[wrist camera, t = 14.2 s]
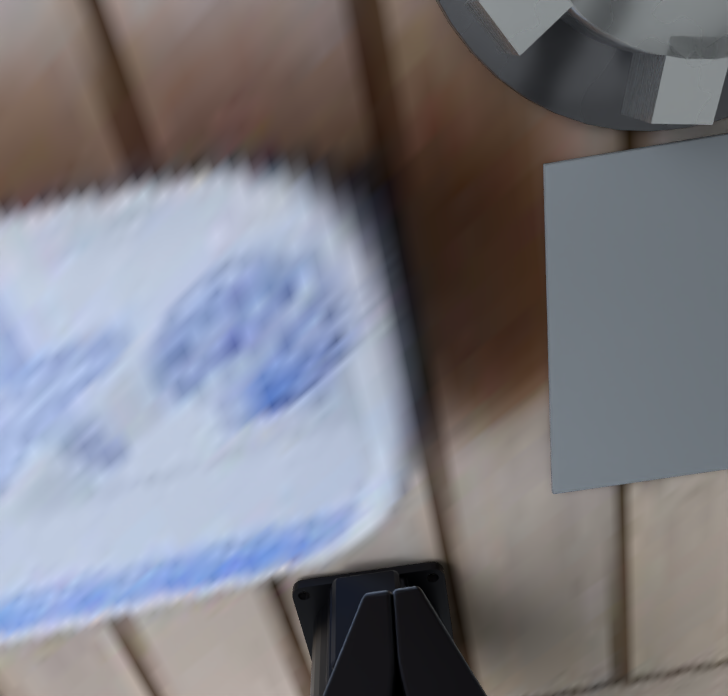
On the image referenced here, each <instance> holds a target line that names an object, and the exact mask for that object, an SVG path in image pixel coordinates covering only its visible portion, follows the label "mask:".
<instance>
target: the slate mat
mask: <svg viewBox="0 0 728 696" xmlns="http://www.w3.org/2000/svg"><path fill="white" fill-rule="evenodd" d="M543 172H544V211H545V249H546V288H547V326H548V365H549V403H550V442H551V481H552V492H553V494H558V493H565V492H572V491H579V490H586V489H593V488H600V487H607V486H613V485H620V484H627V483H634V482H641V481H648V480H655V479H662V478H669V477H676V476H683V475H690V474H697V473H704V472H711V471H718V470H724V469H728V133H725V134H719V135H713V136H707V137H701V138H695V139H689V140H683V141H677V142H671V143H665V144H659V145H653V146H647V147H641V148H635V149H629V150H623V151H618V152H612V153H606V154H600V155H594V156H588V157H582V158H576V159H570V160H564V161H558V162H552V163H546V164H543Z"/></svg>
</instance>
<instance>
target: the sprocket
mask: <svg viewBox="0 0 728 696" xmlns="http://www.w3.org/2000/svg"><path fill="white" fill-rule="evenodd" d="M464 5H465V6H466V7H467V9H468V10H469V11H470V13H471V14H472V15H473V17H474V18H475V19H476V20H477V22H478V23H479V24H480V26H481V27H482V28H483V30H484V31H485V32H486V34H487V35H488V36H489V37H490V39H491V40H492V41H493V43H494V44H495V45H496V47H497V48H498V49H499V50H500V52H501V53H506V54H512V55H518V56H520V55H521V54H522V53H523V52H525V51H526V50H527V49H528V48H529V47H530V46H531V45H532V44H533V43H534V42H535V41H536V40H537V39H538V38H539V37H540V36H541V35H542V34H543V33H544V32H545V31H546V30H548V29H549V28H550V27H551V26H552V25H553V24H554V23H555V22H556V21H557V20H558V19H559V18H561V19H562V20H563V21H565V22H566V23H567V24H569V25H570V26H571V27H573V28H574V29H575V30H577V31H578V32H580V33H582V34H584V35H586V36H588V37H590V38H592V39H593V40H595V41H597V42H599V43H601V44H604V45H607V46H610V47H613V48H616V49H619V50H623V51H626V52H632V56H631V61H630V66H629V71H628V76H627V82H626V87H625V92H624V97H623V102H622V107H621V112H620V114H623V115H626V116H629V117H632V118H635V119H638V120H642V121H645V122H648V123H651V124H698V125H713V121H714V118H715V114H716V110H717V106H718V102H719V99H720V95H721V91H722V87H723V84H724V80H725V76H726V72H727V68H728V0H467V1H466V2H465V3H464Z"/></svg>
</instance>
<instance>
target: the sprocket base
mask: <svg viewBox="0 0 728 696" xmlns="http://www.w3.org/2000/svg"><path fill="white" fill-rule="evenodd" d="M466 1H467V0H436V2H437V3H438V5H439V7H440V9H441V10H442V12H443V14H444V16H445V17H446V19H447V21H448V23H449V24H450V26H451V27H452V28H453V30H454V31H455V32H456V34H457V35H458V36H459V38H460V39H461V40H462V41H463V43H464V44H465V45H466V47H467V48H468V49H469V51H470V52H471V53H472V54H473V55H474V56H475V57H476V58H477V59H478V60H479V61H480V62H481V63H482V64H483V65H484V66H485V67H486V68H487V69H488V70H489V71H490V72H491V73H492V74H493V75H494V76H495V77H496V78H498V79H499V80H501V81H502V82H503V83H505V84H506V85H507V86H509V87H510V88H511V89H513V90H514V91H516V92H517V93H518V94H520V95H521V96H523V97H524V98H526V99H528V100H530V101H532V102H534V103H536V104H538V105H540V106H542V107H544V108H546V109H547V110H549V111H552V112H554V113H556V114H559V115H562V116H565V117H568V118H571V119H574V120H577V121H580V122H583V123H586V124H590V125H595V126H601V127H606V128H611V129H617V130H635V131H658V130H668V129H678V128H687V127H691V126H695V125H698V124H651V123H648V122H645V121H642V120H638V119H635V118H632V117H629V116H626V115H623V114H620V112H621V107H622V102H623V97H624V92H625V87H626V82H627V76H628V71H629V66H630V61H631V56H632V52H626V51H623V50H619V49H616V48H613V47H610V46H607V45H604V44H601V43H599V42H597V41H595V40H593V39H592V38H590V37H588V36H586V35H584V34H582V33H580V32H578V31H577V30H575V29H574V28H573V27H571V26H570V25H569V24H567V23H566V22H565V21H563V20H562V19H561V18H559V19H558V20H557V21H556V22H555V23H554V24H553V25H552V26H551V27H550V28H549V29H548V30H546V31H545V32H544V33H543V34H542V35H541V36H540V37H539V38H538V39H537V40H536V41H535V42H534V43H533V44H532V45H531V46H530V47H529V48H528V49H527V50H526V51H525V52H523V53H522V54H521V55H520V56H518V55H512V54H506V53H501V52H500V50H499V49H498V48H497V47H496V45H495V44H494V43H493V41H492V40H491V39H490V37H489V36H488V35H487V34H486V32H485V31H484V30H483V28H482V27H481V26H480V24H479V23H478V22H477V20H476V19H475V18H474V17H473V15H472V14H471V13H470V11H469V10H468V9H467V7H466V6H465V5H464V3H465V2H466ZM726 117H728V68H727V72H726V76H725V80H724V84H723V87H722V91H721V95H720V99H719V102H718V106H717V110H716V114H715V118H714V121H717V120H721V119H723V118H726Z"/></svg>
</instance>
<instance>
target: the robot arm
mask: <svg viewBox="0 0 728 696" xmlns="http://www.w3.org/2000/svg"><path fill="white" fill-rule="evenodd" d="M429 574H433V575H429ZM293 600H294V604H295V607H296V610H297V614H298V617H299V620H300V624H301V627H302V630H303V633H304V637H305V640H306V643H307V647H308V650H309V653H310V657H311V660H312V668H311V689H310V696H487V695H486V694H485V692H484V690H483V689H482V687H481V685H480V684H479V682H478V680H477V679H476V677H475V676H474V674H473V672H472V671H471V669H470V667H469V666H468V664H467V663H466V661H465V659H464V658H463V656H462V654H461V653H460V651H459V649H458V648H457V646H456V645H455V643H454V641H453V634H452V627H451V619H450V612H449V605H448V598H447V591H446V583H445V576H444V571H443V567H442V566H441V565H440V564H439V563H436V562H427V563H420V564H413V565H406V566H399V567H392V568H385V569H378V570H370V571H363V572H356V573H349V574H342V575H335V576H328V577H321V578H314V579H306V580H301V581H298V582H296V583H295V584H294V586H293Z"/></svg>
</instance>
